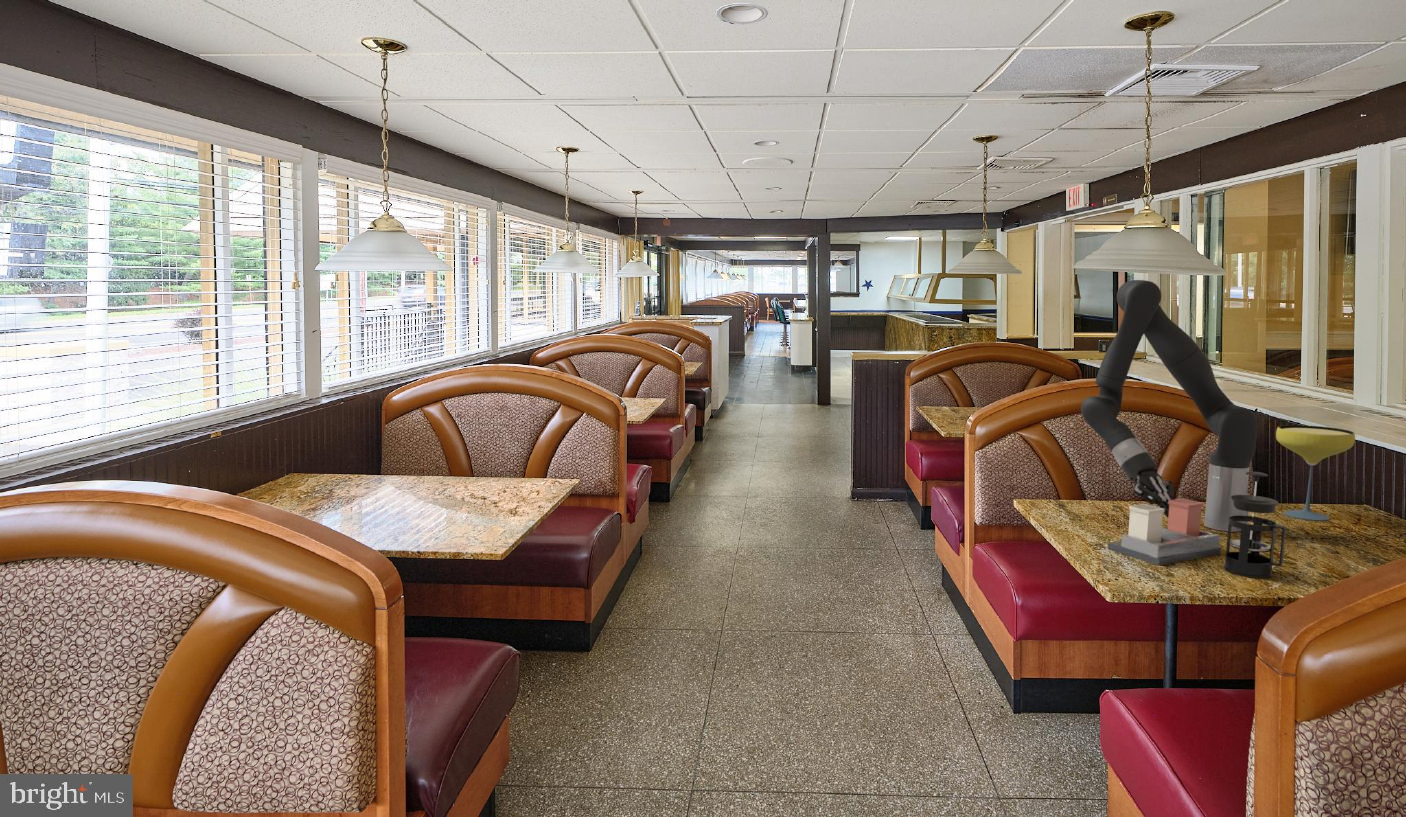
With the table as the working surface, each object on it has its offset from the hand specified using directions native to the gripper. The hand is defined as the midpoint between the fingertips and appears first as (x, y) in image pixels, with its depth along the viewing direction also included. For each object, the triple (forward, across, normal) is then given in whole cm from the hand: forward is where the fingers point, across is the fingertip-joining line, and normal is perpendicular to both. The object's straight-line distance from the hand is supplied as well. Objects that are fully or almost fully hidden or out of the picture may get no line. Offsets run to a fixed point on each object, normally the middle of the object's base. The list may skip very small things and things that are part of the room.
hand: (1173, 516), depth 212 cm
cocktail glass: (+3, +62, +8) cm, 62 cm away
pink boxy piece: (+6, 0, +2) cm, 6 cm away
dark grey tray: (+7, -7, +4) cm, 10 cm away
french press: (+21, -3, -10) cm, 24 cm away
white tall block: (+6, -14, +2) cm, 15 cm away
